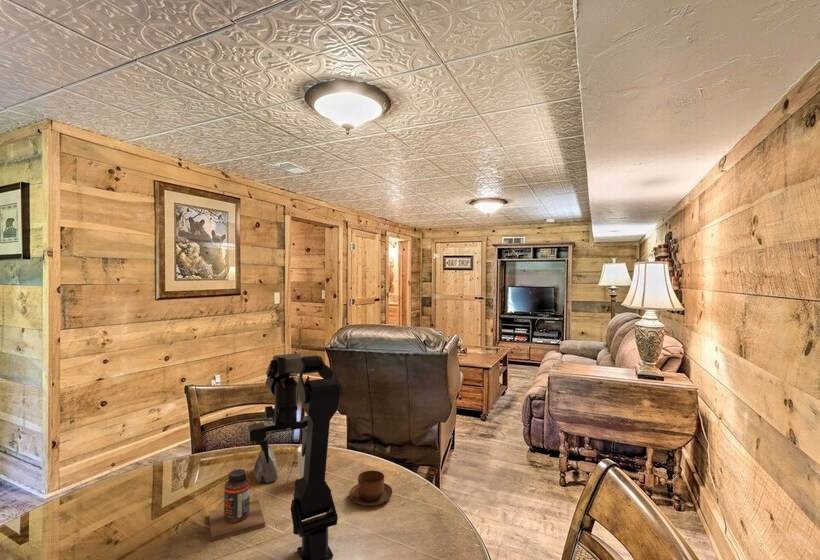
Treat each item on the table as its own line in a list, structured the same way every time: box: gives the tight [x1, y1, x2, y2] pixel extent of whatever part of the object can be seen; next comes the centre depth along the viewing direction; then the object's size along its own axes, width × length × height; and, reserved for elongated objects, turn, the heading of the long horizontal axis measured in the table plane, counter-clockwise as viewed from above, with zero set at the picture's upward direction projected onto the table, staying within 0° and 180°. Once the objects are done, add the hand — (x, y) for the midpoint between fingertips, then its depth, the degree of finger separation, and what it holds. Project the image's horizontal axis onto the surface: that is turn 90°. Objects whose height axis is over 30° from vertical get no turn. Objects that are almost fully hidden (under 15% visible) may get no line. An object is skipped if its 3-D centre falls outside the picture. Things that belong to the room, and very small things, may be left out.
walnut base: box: [208, 499, 266, 542], centre depth 102 cm, size 12×12×1 cm
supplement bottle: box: [223, 468, 251, 523], centre depth 102 cm, size 6×6×11 cm
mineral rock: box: [253, 443, 280, 484], centre depth 128 cm, size 13×11×10 cm
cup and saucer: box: [349, 470, 393, 507], centre depth 113 cm, size 12×12×6 cm
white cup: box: [297, 445, 305, 479], centre depth 123 cm, size 8×8×10 cm
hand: (285, 459), depth 108 cm, fingers open, 9 cm apart
